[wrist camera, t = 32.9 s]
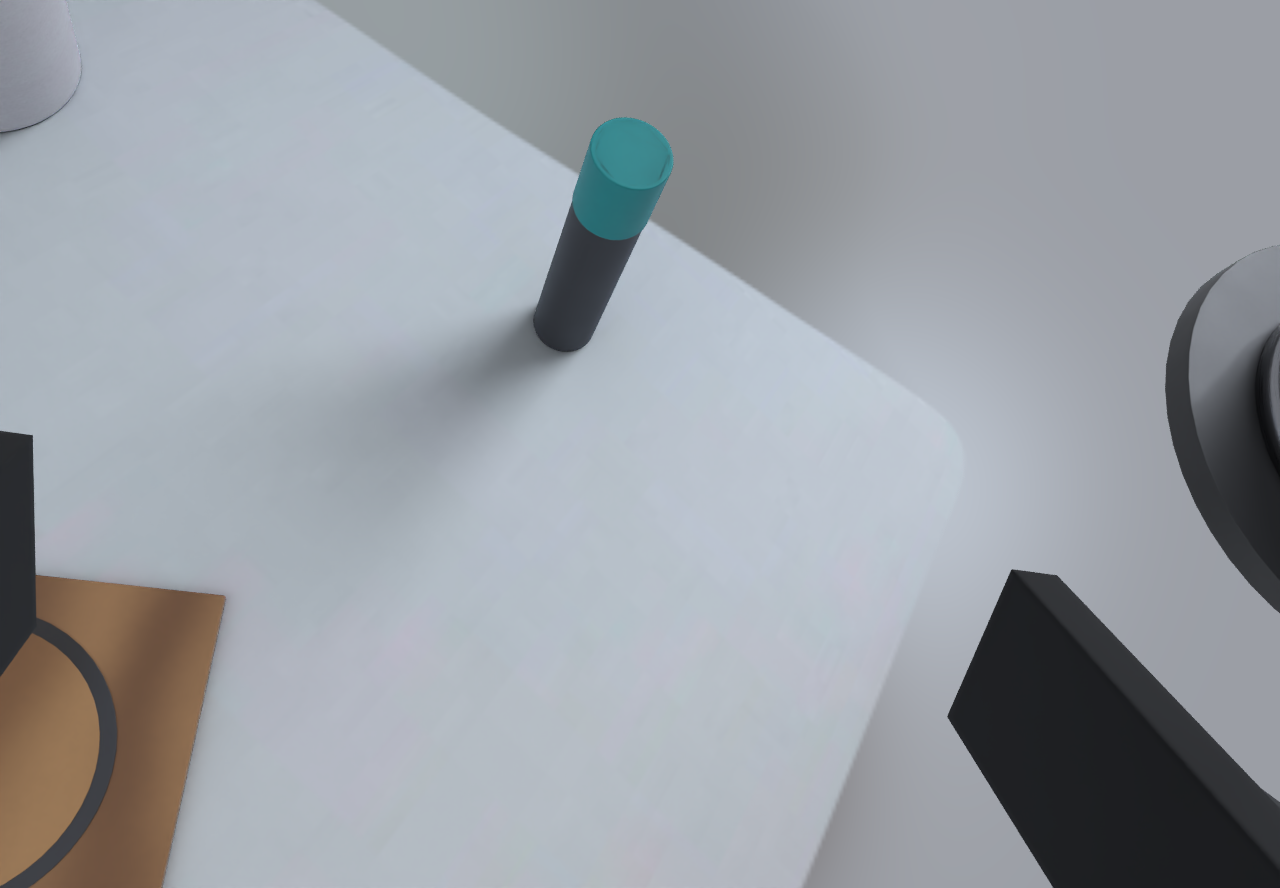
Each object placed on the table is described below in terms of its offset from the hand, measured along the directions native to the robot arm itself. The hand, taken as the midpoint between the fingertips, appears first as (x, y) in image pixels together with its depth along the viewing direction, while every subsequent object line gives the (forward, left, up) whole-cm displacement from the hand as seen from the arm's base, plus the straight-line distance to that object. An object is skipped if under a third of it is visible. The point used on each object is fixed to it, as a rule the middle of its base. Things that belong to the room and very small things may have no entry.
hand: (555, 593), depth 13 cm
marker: (-3, -17, -24) cm, 29 cm away
